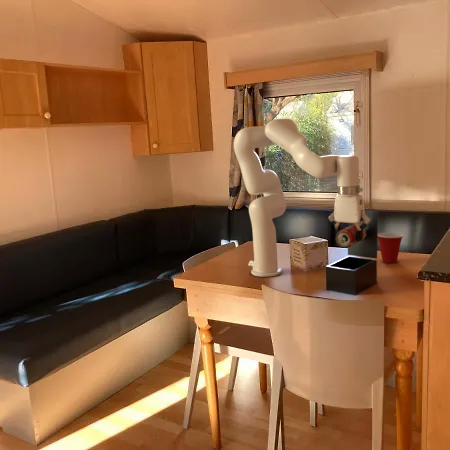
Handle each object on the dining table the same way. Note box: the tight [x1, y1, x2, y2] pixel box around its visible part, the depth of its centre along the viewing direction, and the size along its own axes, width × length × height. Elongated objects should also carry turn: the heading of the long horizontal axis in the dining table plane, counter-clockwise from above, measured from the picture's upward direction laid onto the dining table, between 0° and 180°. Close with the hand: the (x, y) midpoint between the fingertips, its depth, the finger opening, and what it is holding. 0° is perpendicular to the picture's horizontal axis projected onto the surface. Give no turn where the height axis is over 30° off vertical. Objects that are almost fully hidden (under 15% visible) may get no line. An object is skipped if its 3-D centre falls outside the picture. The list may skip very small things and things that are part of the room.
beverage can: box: [335, 224, 366, 249], centre depth 178 cm, size 7×12×7 cm, turn 141°
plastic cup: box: [378, 232, 404, 264], centre depth 209 cm, size 11×11×12 cm
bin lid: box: [347, 209, 379, 259], centre depth 186 cm, size 17×12×1 cm
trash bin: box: [325, 255, 378, 296], centre depth 182 cm, size 17×12×9 cm
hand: (349, 239), depth 178 cm, fingers closed on beverage can, 7 cm apart
